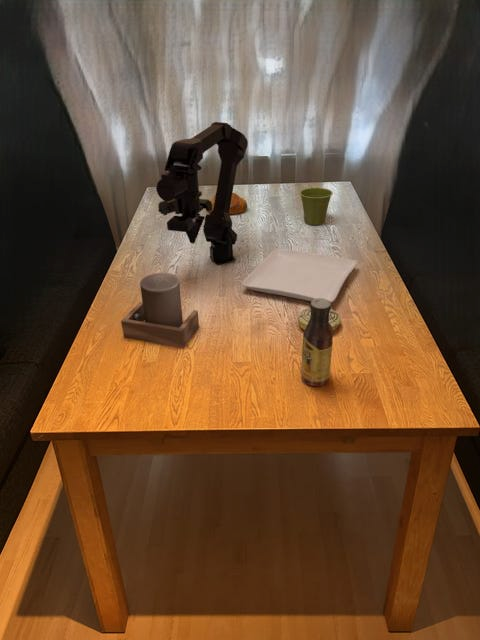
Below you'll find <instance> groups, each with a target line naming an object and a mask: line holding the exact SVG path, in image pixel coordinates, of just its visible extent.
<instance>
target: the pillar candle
mask: <svg viewBox="0 0 480 640" xmlns="http://www.w3.org/2000/svg"><path fill="white" fill-rule="evenodd" d="M139 286H140V287H139V288H140V293H141V294H140V295H141V302H142V303H143V309H144V317H145V321H144V322H147V323H153V324H159V325H166V326H172V327H178V328H180V327H181V325H182V324H183V322H184V320H183V319H184V318H183V307H182V297H181V296H182V295H181V286H180V279H179V276H177V275H175V274H174V273H168V272H157V273H151V274H148V275H146V276H145V277H143V278H142V279H141V280H140V283H139Z"/></svg>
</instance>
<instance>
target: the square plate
mask: <svg viewBox="0 0 480 640" xmlns="http://www.w3.org/2000/svg"><path fill="white" fill-rule="evenodd" d="M358 263H359V261H358V260H356V259H352V258H343V257H339V256H334V255H333V256H332V255H329V254H322V253H321V254H319V253H313V252H307V251H303V250H302V251H301V250H300V251H299V250H295V249H294V250H293V249H287V248H286V249H285V248H274V249H273V250H272V251H271V252H270V253H268V255H267V256H266V257H265V258H264V259H263V260H262V261H261V262H260V264H258V265H257V266H256V267H255V268H254V269H253V270H252V271H251V272H250V274H249V275H247V276H246V278H245V279H243V280H242V282H241V286H243V287H244V288H246V289H248V290H251V291H255V292H261V293H263V294H264V293H265V294H270V295H271V294H272V295H278V296H283V297H288V298H293V299H294V298H295V299H297V300H298V299H299V300H303V301H308V302H311V301H312V300H314V299H317V298H323V299H327V300H328V301H330V303H331V304H332V303H333V302H335V301H336V299H337V297H338V295H339V292H340V291H341V289H342V287H343V285H344V283H345V281H346V279H347V278H348V277H349V275H350V274H351V272H352V271H353V270H354V268H355V267H356V266H357V265H358Z"/></svg>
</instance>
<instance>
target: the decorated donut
mask: <svg viewBox="0 0 480 640" xmlns="http://www.w3.org/2000/svg"><path fill="white" fill-rule="evenodd" d="M310 317H311V309H310V307H307V308H305V309H302V310H301V311H300V312H299V313H298V316H297V323H298V325H299V327H300V329H302V330H303V332H304V331H305V329H306V327H307V325H308V323H309V320H310ZM341 323H342V319H341V316H340V314H339V313H338V312H337V311H336V310H334V309H332V308H331V310H330V311H329V324H330V325H331V327H332V329H333V333H334V332H335V331H336V330H338V329H337V328H338V327H339V326H340V324H341Z"/></svg>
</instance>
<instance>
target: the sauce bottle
mask: <svg viewBox="0 0 480 640" xmlns="http://www.w3.org/2000/svg"><path fill="white" fill-rule="evenodd" d="M331 304H332V302H331V303H330V301H328V300H327V299H323V298H317V299H314V300H312V301H310V306H309V308H310V309H311V317H310V320H309V323H308V325H307V327H306V329H305V331H304V330H303V334H302V347H301V352H302V353H301V366H300V368H301V369H300V374H301V379H302V382H304V383H305V384H306V385H308V386H312V387H320V386H324V385H325V384H327V383H328V381H329V377H330V373H331V366H332V365H331V363H332V354H333V353H332V352H333V341H334V340H333V338H334V332H333V329H332V327H331V325H330V324H329V311H330V310H331V309H332V308H331V306H332V305H331Z"/></svg>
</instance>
